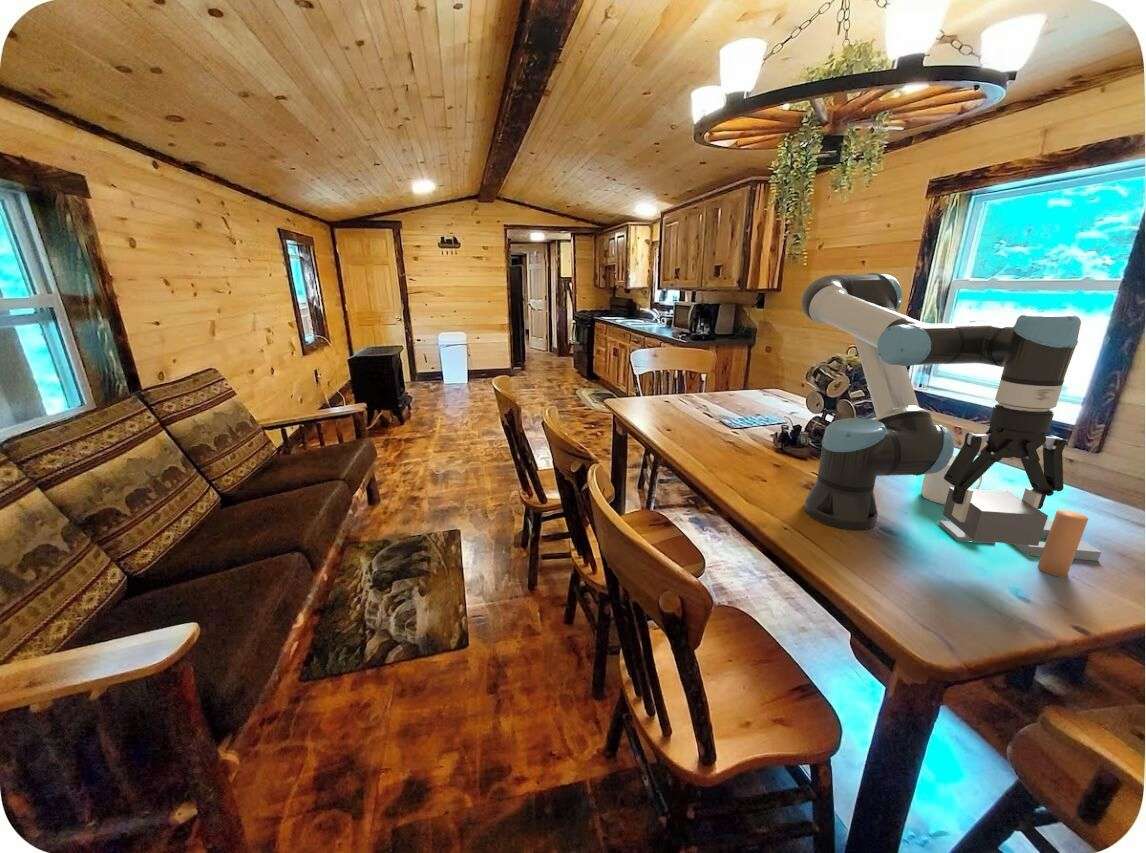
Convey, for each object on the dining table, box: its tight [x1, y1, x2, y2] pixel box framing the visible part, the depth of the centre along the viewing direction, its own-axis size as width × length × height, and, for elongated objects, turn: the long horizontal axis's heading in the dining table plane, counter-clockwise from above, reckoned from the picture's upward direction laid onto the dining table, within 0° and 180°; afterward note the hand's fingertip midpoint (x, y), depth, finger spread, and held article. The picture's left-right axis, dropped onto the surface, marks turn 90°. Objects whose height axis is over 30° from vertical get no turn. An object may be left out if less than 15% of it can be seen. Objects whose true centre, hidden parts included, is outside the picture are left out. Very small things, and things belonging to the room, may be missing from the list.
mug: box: [920, 454, 983, 506], centre depth 112 cm, size 9×12×11 cm
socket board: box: [1012, 518, 1102, 562], centre depth 98 cm, size 12×20×2 cm, turn 168°
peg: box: [1037, 509, 1089, 578], centre depth 83 cm, size 4×4×12 cm
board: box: [938, 520, 996, 545], centre depth 97 cm, size 7×7×4 cm
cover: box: [942, 487, 1049, 546], centre depth 83 cm, size 10×10×6 cm
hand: (990, 520), depth 83 cm, fingers closed on cover, 10 cm apart
